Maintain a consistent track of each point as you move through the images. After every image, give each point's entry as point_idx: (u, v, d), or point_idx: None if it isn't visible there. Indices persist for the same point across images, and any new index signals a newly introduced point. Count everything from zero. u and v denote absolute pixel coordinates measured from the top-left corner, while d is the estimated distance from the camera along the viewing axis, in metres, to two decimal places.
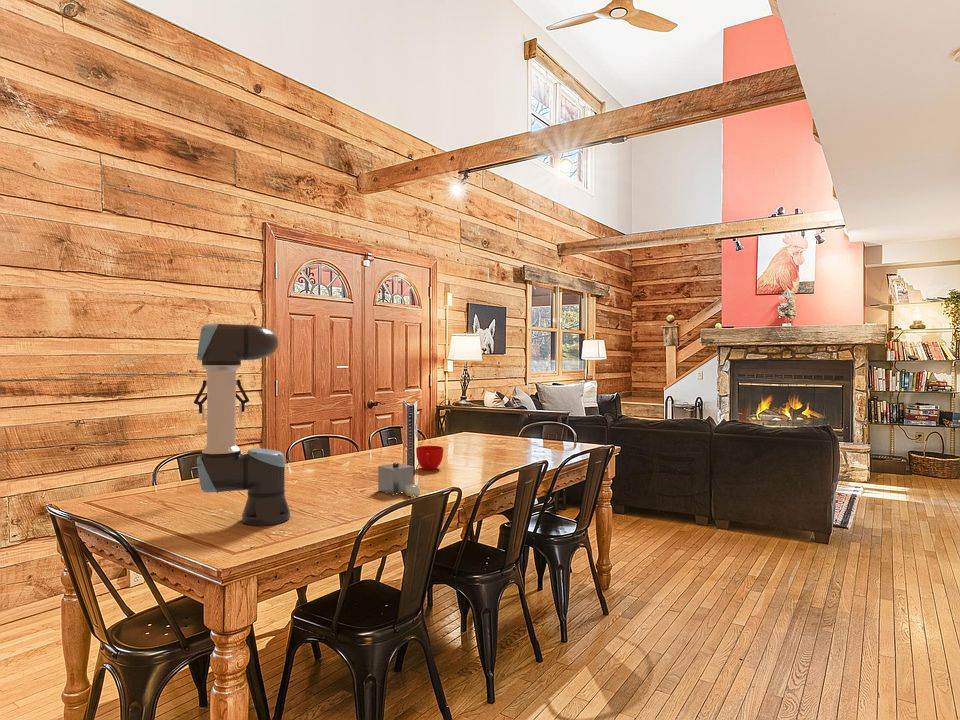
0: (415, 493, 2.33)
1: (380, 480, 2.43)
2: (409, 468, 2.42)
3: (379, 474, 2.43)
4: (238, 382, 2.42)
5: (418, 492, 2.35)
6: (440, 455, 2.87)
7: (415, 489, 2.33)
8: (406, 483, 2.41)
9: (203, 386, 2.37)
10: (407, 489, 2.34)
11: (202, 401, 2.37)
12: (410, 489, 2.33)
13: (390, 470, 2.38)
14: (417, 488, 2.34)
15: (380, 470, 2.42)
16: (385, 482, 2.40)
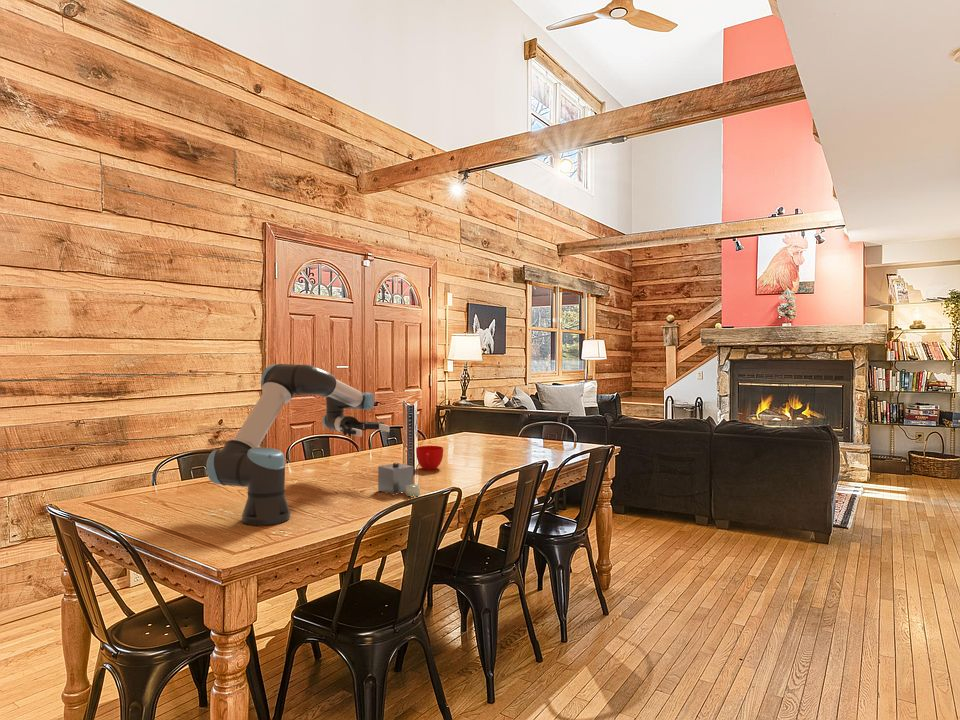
0: (415, 493, 2.33)
1: (380, 480, 2.43)
2: (409, 468, 2.42)
3: (379, 474, 2.43)
4: (366, 421, 2.65)
5: (418, 492, 2.35)
6: (440, 455, 2.87)
7: (415, 489, 2.33)
8: (406, 483, 2.41)
9: (342, 426, 2.55)
10: (407, 489, 2.34)
11: (349, 428, 2.51)
12: (410, 489, 2.33)
13: (390, 470, 2.38)
14: (417, 488, 2.34)
15: (380, 470, 2.42)
16: (385, 482, 2.40)
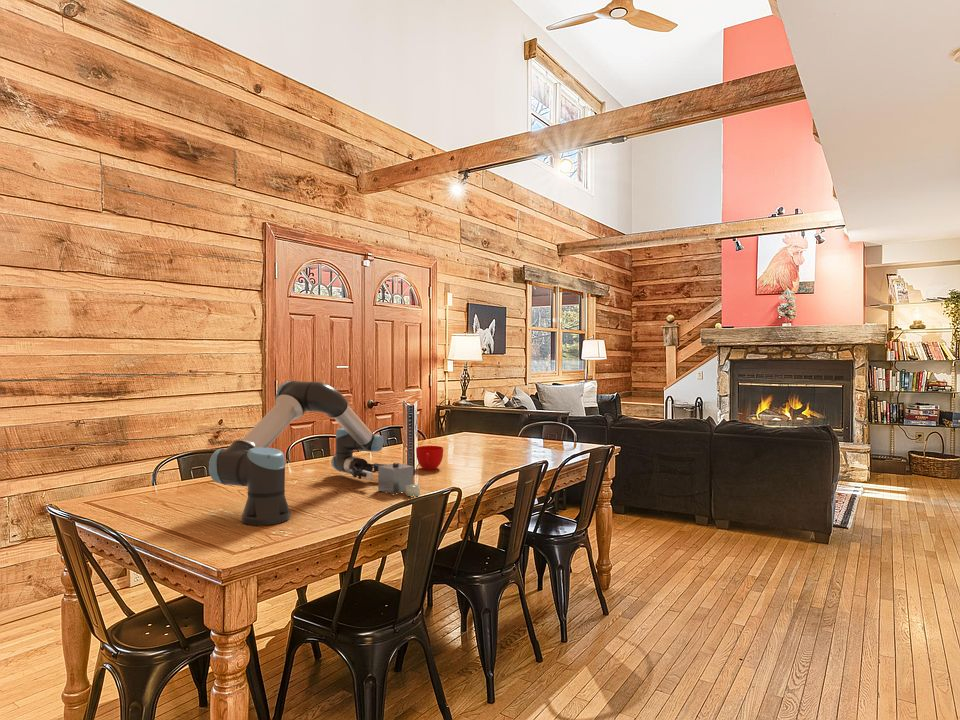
0: (415, 493, 2.33)
1: (380, 480, 2.43)
2: (409, 468, 2.42)
3: (379, 474, 2.43)
4: (376, 463, 2.64)
5: (418, 492, 2.35)
6: (440, 455, 2.87)
7: (415, 489, 2.33)
8: (406, 483, 2.41)
9: (352, 468, 2.54)
10: (407, 489, 2.34)
11: (360, 470, 2.50)
12: (410, 489, 2.33)
13: (390, 470, 2.38)
14: (417, 488, 2.34)
15: (380, 470, 2.42)
16: (385, 482, 2.40)
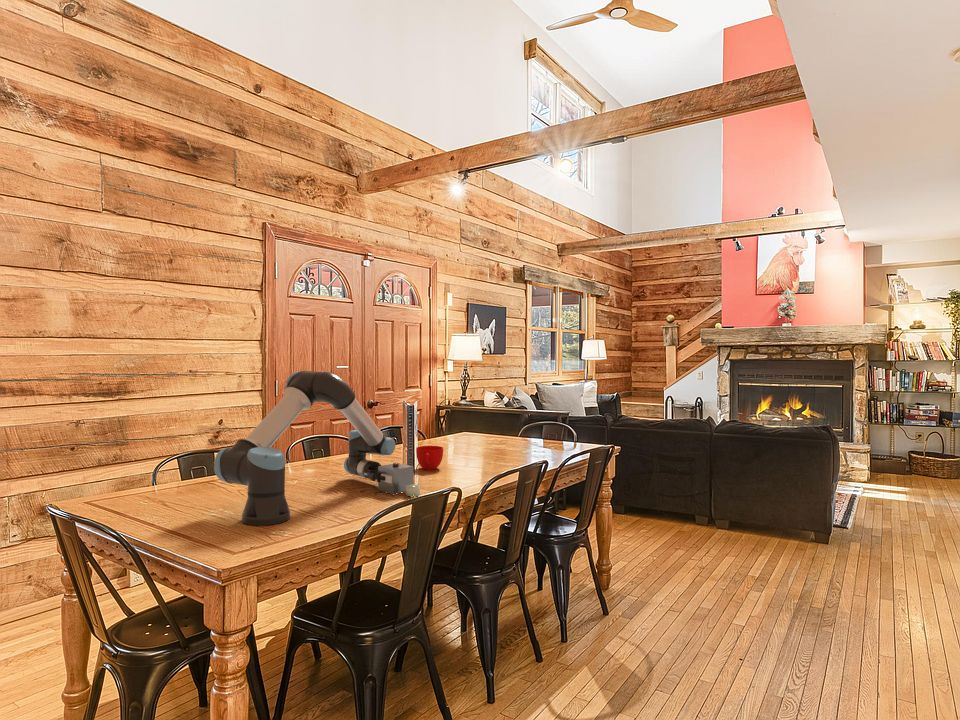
0: (415, 493, 2.33)
1: (380, 480, 2.43)
2: (409, 468, 2.42)
3: None
4: None
5: (418, 492, 2.35)
6: (440, 455, 2.87)
7: (415, 489, 2.33)
8: (406, 483, 2.41)
9: (368, 471, 2.46)
10: (407, 489, 2.34)
11: (378, 473, 2.42)
12: (410, 489, 2.33)
13: (390, 470, 2.38)
14: (417, 488, 2.34)
15: (380, 470, 2.42)
16: (385, 482, 2.40)
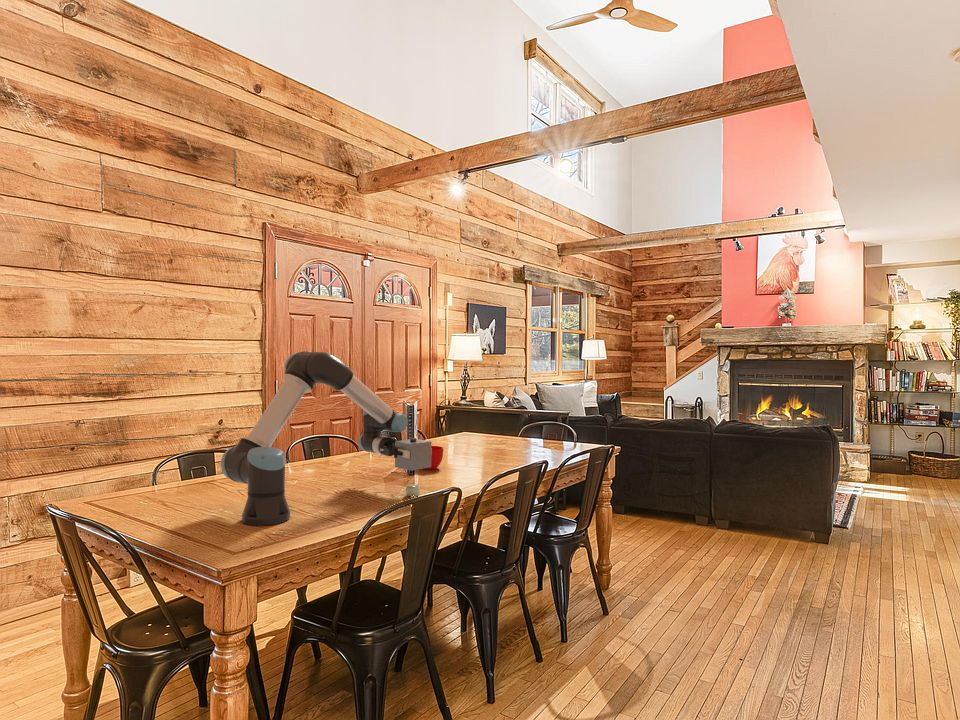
0: (415, 493, 2.33)
1: None
2: (427, 443, 2.34)
3: None
4: None
5: (418, 492, 2.35)
6: (440, 455, 2.87)
7: (415, 489, 2.33)
8: (424, 458, 2.33)
9: (384, 447, 2.38)
10: (407, 489, 2.34)
11: (395, 448, 2.34)
12: (410, 489, 2.33)
13: (408, 445, 2.30)
14: (417, 488, 2.34)
15: (397, 445, 2.34)
16: (402, 457, 2.32)
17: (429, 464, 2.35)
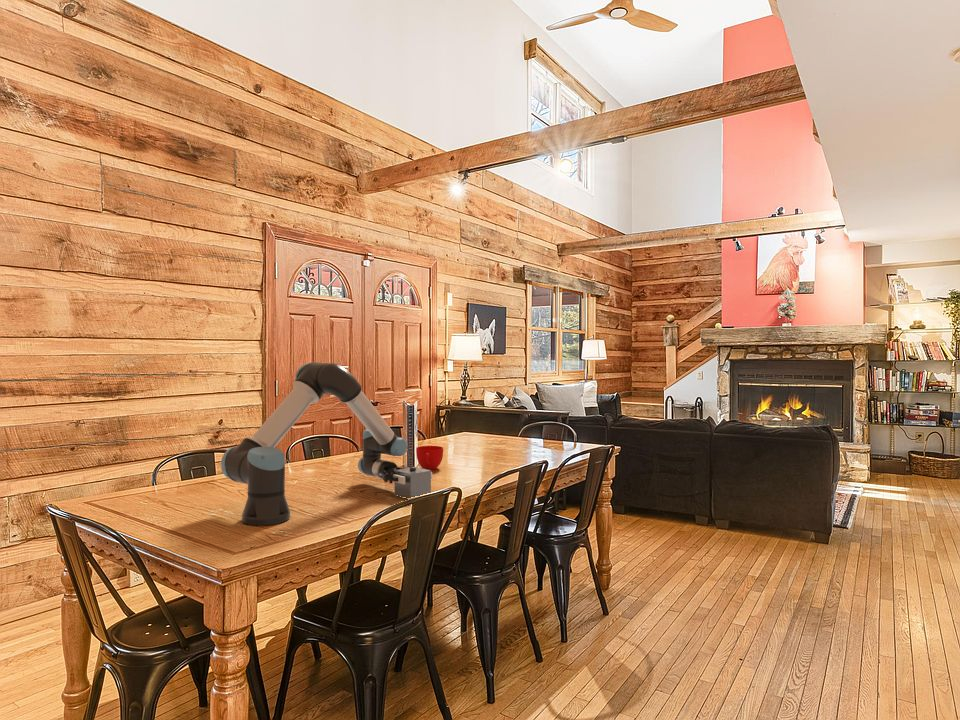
0: None
1: (396, 484, 2.35)
2: (427, 472, 2.34)
3: None
4: (406, 467, 2.49)
5: None
6: (440, 455, 2.87)
7: None
8: (423, 488, 2.33)
9: (382, 471, 2.39)
10: None
11: (391, 474, 2.34)
12: None
13: (407, 474, 2.30)
14: None
15: (397, 474, 2.35)
16: (402, 487, 2.33)
17: None
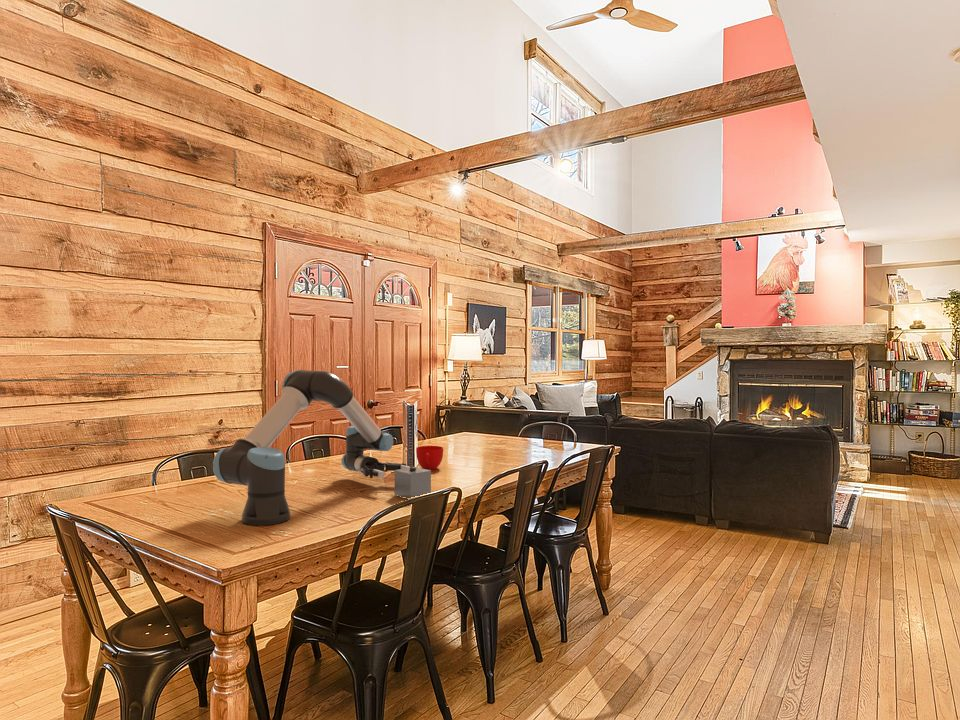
0: None
1: (396, 484, 2.35)
2: (427, 472, 2.34)
3: (395, 478, 2.36)
4: (387, 462, 2.58)
5: None
6: (440, 455, 2.87)
7: None
8: (423, 488, 2.33)
9: (364, 467, 2.48)
10: None
11: (371, 469, 2.43)
12: None
13: (407, 474, 2.30)
14: None
15: (397, 474, 2.35)
16: (402, 487, 2.33)
17: None
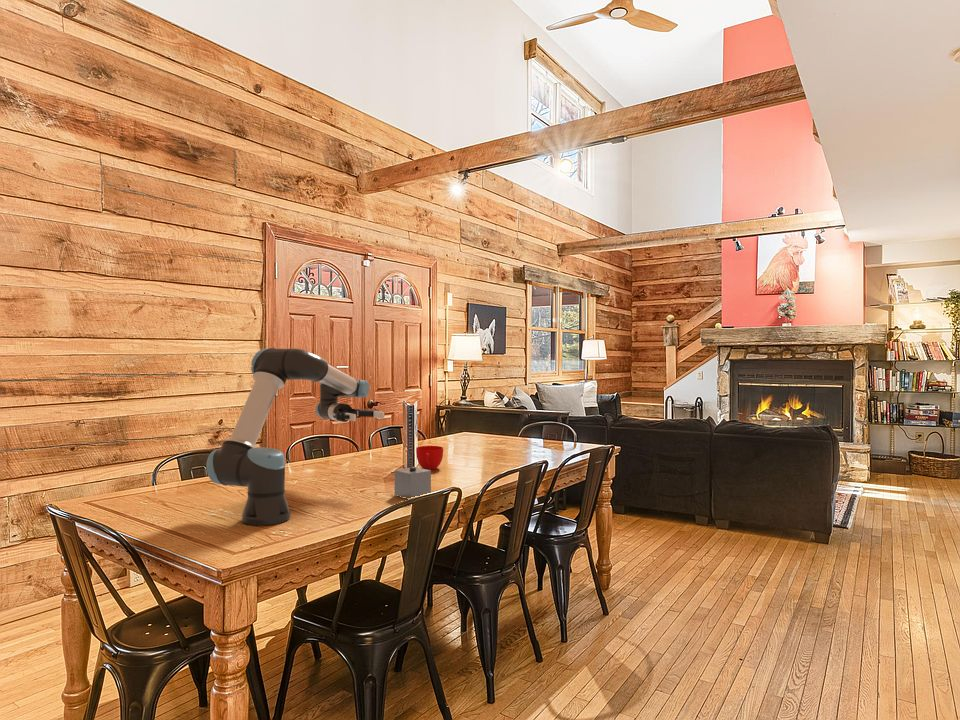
0: None
1: (396, 484, 2.35)
2: (427, 472, 2.34)
3: (395, 478, 2.36)
4: None
5: None
6: (440, 455, 2.87)
7: None
8: (423, 488, 2.33)
9: (336, 411, 2.48)
10: None
11: (343, 413, 2.43)
12: None
13: (407, 474, 2.30)
14: None
15: (397, 474, 2.35)
16: (402, 487, 2.33)
17: None
